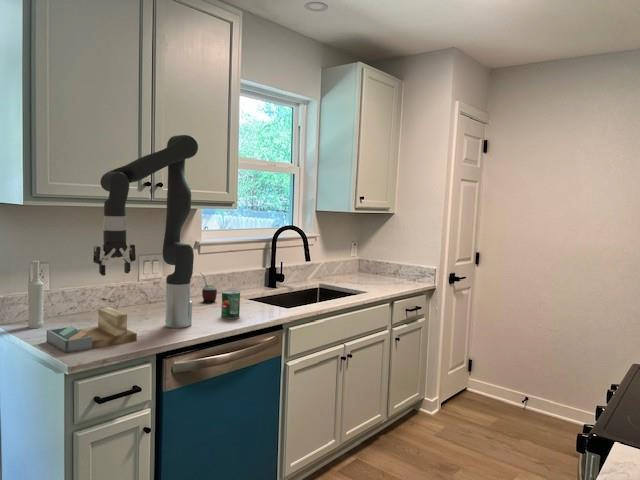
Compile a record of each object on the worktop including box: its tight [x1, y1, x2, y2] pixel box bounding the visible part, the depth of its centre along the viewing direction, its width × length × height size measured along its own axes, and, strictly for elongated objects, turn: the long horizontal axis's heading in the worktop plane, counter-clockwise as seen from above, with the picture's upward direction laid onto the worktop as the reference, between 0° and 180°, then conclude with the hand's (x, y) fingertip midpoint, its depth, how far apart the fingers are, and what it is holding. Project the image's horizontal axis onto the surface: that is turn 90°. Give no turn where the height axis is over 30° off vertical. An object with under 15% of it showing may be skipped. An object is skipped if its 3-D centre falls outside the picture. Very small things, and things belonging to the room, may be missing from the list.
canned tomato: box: [220, 289, 241, 320], centre depth 217 cm, size 8×8×11 cm
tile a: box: [59, 325, 78, 340], centre depth 171 cm, size 4×4×2 cm
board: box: [77, 326, 138, 349], centre depth 175 cm, size 16×17×2 cm
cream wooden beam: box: [97, 307, 128, 336], centre depth 177 cm, size 4×14×7 cm, turn 47°
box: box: [46, 326, 93, 354], centre depth 167 cm, size 8×17×4 cm, turn 47°
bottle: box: [27, 260, 45, 329], centre depth 186 cm, size 5×5×25 cm
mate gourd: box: [199, 272, 218, 304], centre depth 245 cm, size 8×8×15 cm
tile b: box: [69, 331, 88, 340], centre depth 165 cm, size 4×4×2 cm
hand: (115, 274), depth 176 cm, fingers open, 8 cm apart
